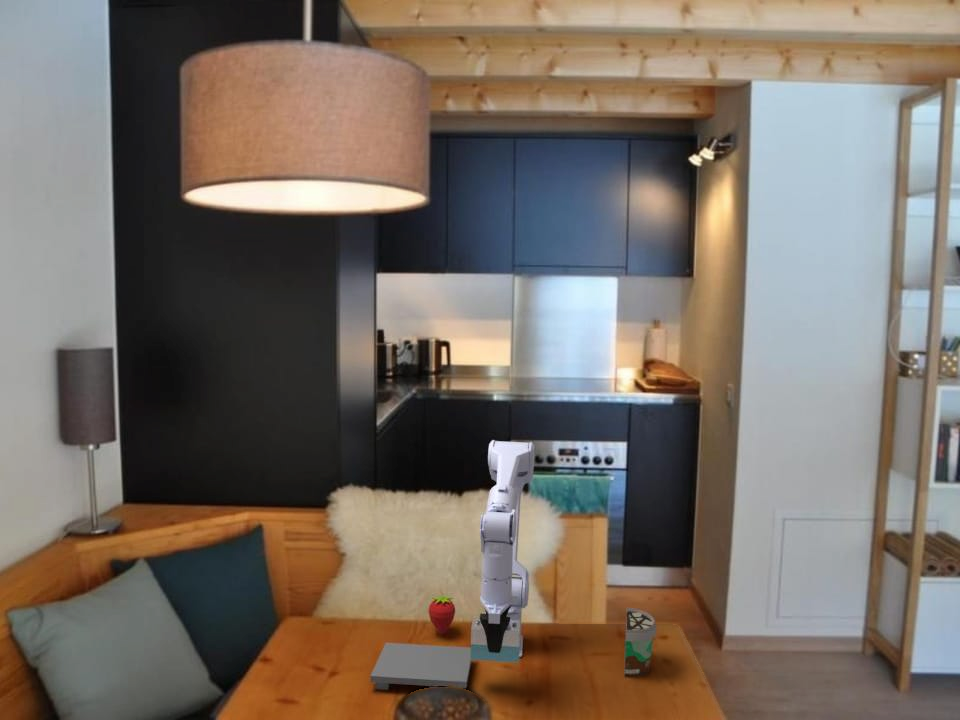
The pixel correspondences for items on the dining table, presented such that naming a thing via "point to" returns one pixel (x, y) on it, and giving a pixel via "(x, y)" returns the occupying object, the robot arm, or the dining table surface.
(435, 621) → the strawberry
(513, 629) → the housing
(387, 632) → the dining table surface
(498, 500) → the robot arm
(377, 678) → the stand
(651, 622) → the food container
